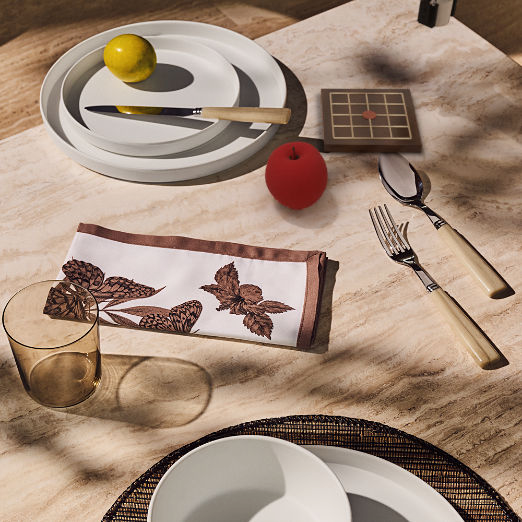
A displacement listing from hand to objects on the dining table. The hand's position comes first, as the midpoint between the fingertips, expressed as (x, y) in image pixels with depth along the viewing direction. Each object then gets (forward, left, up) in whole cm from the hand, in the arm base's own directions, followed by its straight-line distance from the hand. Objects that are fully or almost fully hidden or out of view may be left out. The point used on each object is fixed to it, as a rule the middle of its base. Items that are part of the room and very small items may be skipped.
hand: (435, 18), depth 111 cm
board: (+11, +13, -11) cm, 20 cm away
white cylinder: (0, 0, 0) cm, 0 cm away
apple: (+23, +31, -11) cm, 40 cm away
